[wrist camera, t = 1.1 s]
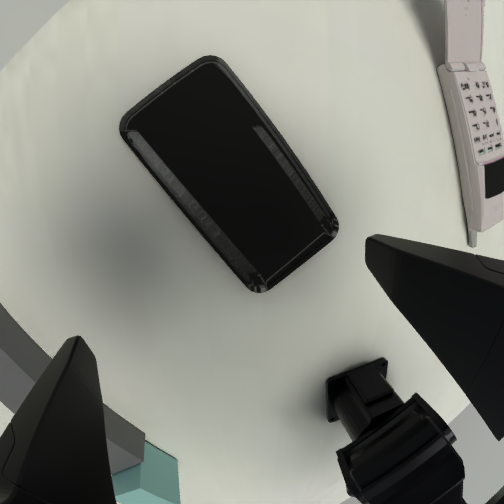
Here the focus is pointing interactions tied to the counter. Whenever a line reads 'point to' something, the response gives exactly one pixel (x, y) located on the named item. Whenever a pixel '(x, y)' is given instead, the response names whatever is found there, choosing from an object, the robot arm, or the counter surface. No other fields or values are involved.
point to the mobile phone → (473, 116)
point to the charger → (149, 480)
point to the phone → (230, 172)
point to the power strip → (28, 372)
